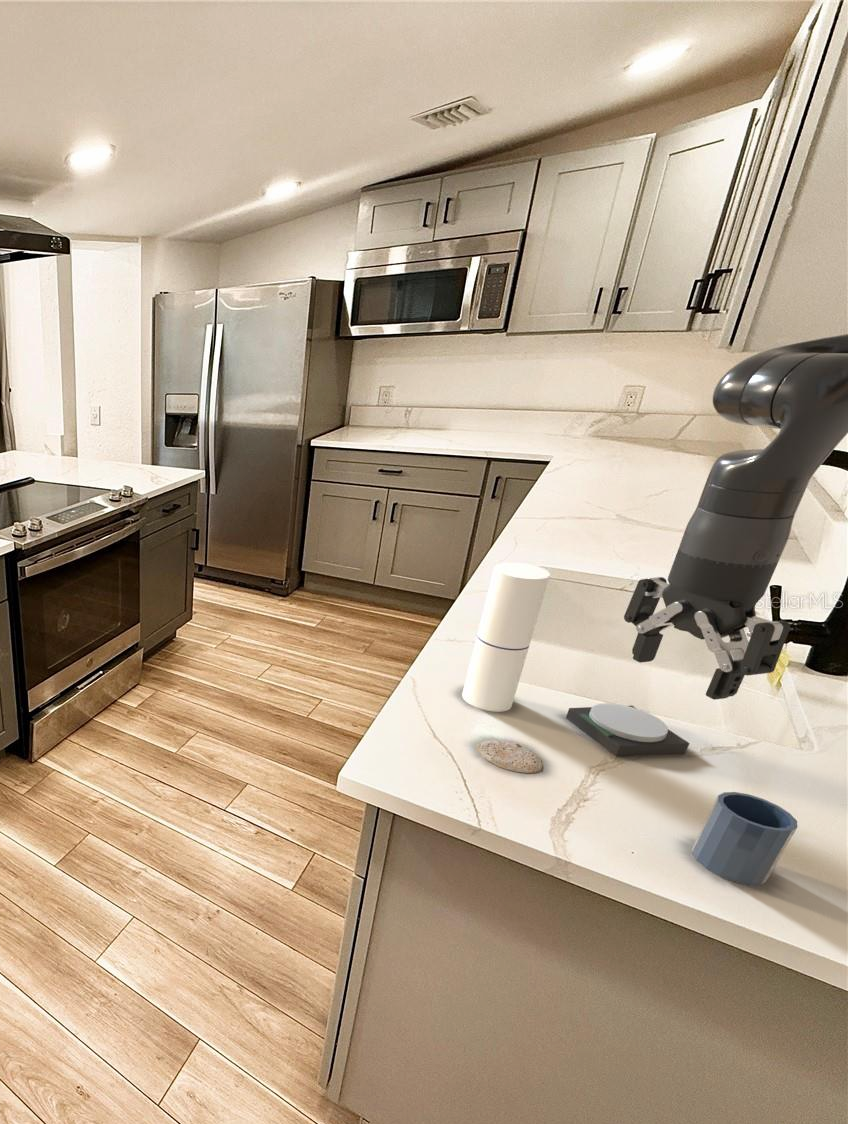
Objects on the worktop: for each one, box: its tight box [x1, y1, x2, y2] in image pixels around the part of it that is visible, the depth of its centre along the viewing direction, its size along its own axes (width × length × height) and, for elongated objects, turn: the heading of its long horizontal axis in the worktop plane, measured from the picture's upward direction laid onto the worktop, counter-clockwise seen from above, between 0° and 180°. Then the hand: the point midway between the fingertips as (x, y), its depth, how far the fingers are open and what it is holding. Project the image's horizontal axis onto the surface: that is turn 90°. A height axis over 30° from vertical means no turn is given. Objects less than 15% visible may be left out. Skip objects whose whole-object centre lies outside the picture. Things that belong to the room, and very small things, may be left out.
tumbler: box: [691, 791, 798, 887], centre depth 72 cm, size 6×6×9 cm
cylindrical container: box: [461, 562, 551, 713], centre depth 102 cm, size 7×7×25 cm
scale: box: [565, 702, 690, 758], centre depth 96 cm, size 10×10×4 cm
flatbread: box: [476, 740, 543, 774], centre depth 93 cm, size 8×8×1 cm
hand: (677, 677), depth 73 cm, fingers open, 8 cm apart
